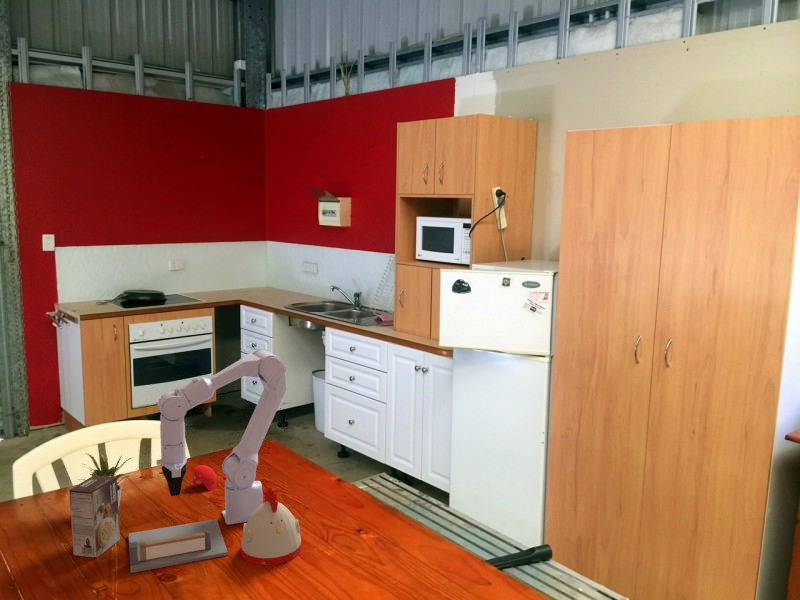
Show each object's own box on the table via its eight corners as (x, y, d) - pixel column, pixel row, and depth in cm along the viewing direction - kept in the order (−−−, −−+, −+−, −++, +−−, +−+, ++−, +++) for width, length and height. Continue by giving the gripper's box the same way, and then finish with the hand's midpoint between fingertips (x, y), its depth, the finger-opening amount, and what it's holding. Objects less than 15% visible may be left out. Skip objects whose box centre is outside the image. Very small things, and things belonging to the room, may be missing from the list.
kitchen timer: (250, 570, 152) (249, 506, 150) (234, 543, 164) (233, 483, 162) (309, 556, 158) (309, 495, 156) (290, 531, 170) (289, 474, 168)
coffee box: (97, 536, 166) (94, 474, 164) (121, 539, 165) (118, 476, 163) (72, 555, 157) (68, 489, 155) (97, 558, 156) (93, 492, 154)
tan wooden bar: (204, 546, 159) (203, 532, 159) (205, 549, 158) (204, 534, 158) (140, 558, 154) (139, 543, 153) (140, 561, 153) (140, 546, 152)
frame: (216, 522, 174) (216, 503, 174) (227, 555, 158) (227, 534, 157) (128, 536, 166) (127, 517, 166) (130, 573, 150) (129, 551, 149)
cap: (184, 475, 196) (192, 470, 192) (200, 463, 200) (208, 458, 196) (201, 498, 196) (209, 493, 192) (216, 485, 200) (224, 480, 196)
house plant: (60, 517, 176) (57, 457, 174) (102, 497, 189) (99, 440, 186) (103, 528, 171) (99, 465, 168) (143, 505, 183) (140, 447, 181)
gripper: (154, 434, 172) (156, 485, 173) (157, 453, 158) (159, 509, 160) (183, 431, 174) (184, 481, 176) (189, 450, 161) (190, 504, 163)
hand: (175, 494), depth 168 cm, fingers closed
